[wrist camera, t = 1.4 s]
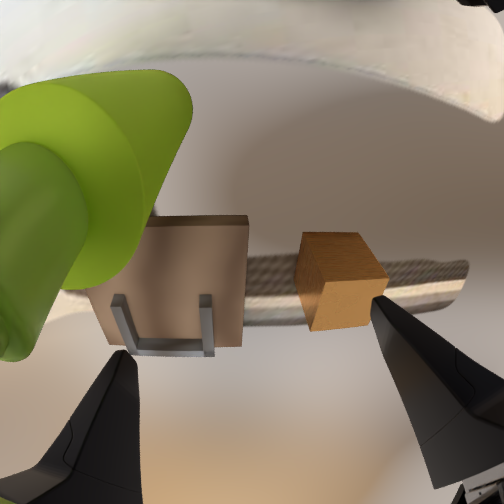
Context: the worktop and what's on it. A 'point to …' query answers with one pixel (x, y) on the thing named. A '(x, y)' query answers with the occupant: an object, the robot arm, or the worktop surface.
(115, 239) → the soap dispenser
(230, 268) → the dock
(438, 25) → the worktop surface
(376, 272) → the block
